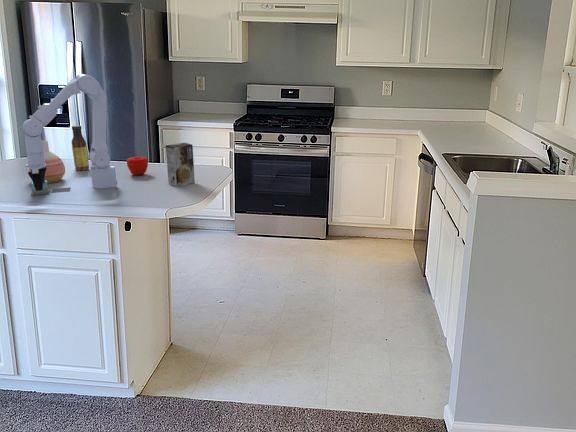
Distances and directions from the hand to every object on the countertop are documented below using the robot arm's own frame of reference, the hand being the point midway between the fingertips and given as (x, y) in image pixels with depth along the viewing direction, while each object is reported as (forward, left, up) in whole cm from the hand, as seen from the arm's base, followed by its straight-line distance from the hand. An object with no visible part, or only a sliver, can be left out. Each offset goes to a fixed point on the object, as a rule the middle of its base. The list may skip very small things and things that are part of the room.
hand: (39, 188), depth 211 cm
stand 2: (-7, -3, -3) cm, 8 cm away
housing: (0, 0, -2) cm, 2 cm away
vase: (-1, -21, -3) cm, 21 cm away
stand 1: (0, 0, -3) cm, 3 cm away
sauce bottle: (-13, -46, -3) cm, 48 cm away
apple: (-37, -27, -3) cm, 46 cm away
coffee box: (-53, -5, -3) cm, 53 cm away
